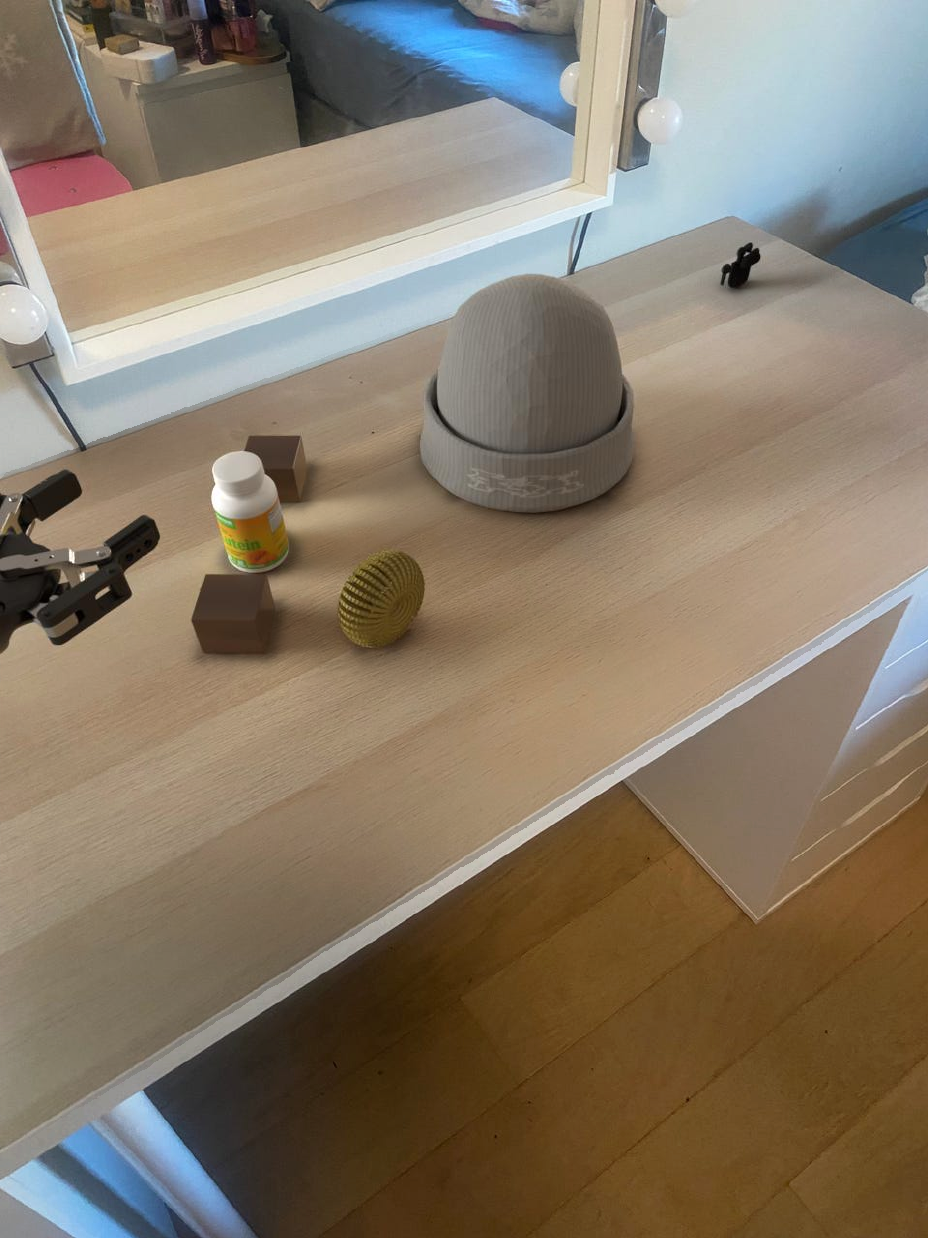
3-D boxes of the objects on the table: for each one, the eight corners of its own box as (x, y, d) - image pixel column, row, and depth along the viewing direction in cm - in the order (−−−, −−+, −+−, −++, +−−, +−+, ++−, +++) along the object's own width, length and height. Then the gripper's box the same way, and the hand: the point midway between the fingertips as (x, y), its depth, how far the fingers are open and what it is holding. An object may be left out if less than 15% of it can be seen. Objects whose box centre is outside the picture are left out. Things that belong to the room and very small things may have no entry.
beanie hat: (419, 540, 91) (396, 463, 72) (433, 352, 96) (415, 232, 77) (625, 550, 90) (659, 474, 71) (629, 359, 95) (662, 238, 75)
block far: (256, 468, 87) (248, 435, 84) (307, 468, 87) (301, 435, 84) (247, 502, 84) (238, 468, 81) (300, 502, 84) (293, 468, 81)
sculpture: (401, 594, 75) (393, 522, 69) (437, 616, 74) (432, 545, 68) (334, 651, 71) (319, 580, 65) (370, 675, 69) (359, 605, 64)
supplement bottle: (218, 569, 78) (191, 482, 71) (243, 528, 81) (219, 441, 74) (276, 579, 77) (254, 491, 70) (299, 537, 80) (280, 450, 73)
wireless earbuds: (748, 273, 111) (757, 233, 107) (765, 280, 110) (775, 239, 106) (713, 292, 108) (722, 252, 104) (730, 300, 107) (739, 259, 103)
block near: (216, 607, 75) (205, 573, 72) (275, 607, 75) (266, 574, 72) (203, 653, 71) (190, 620, 68) (265, 653, 71) (255, 620, 68)
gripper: (-58, 659, 49) (167, 499, 58) (-191, 555, 55) (32, 424, 63) (-2, 736, 55) (196, 580, 63) (-128, 635, 60) (69, 504, 69)
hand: (113, 502), depth 63 cm, fingers open, 8 cm apart
